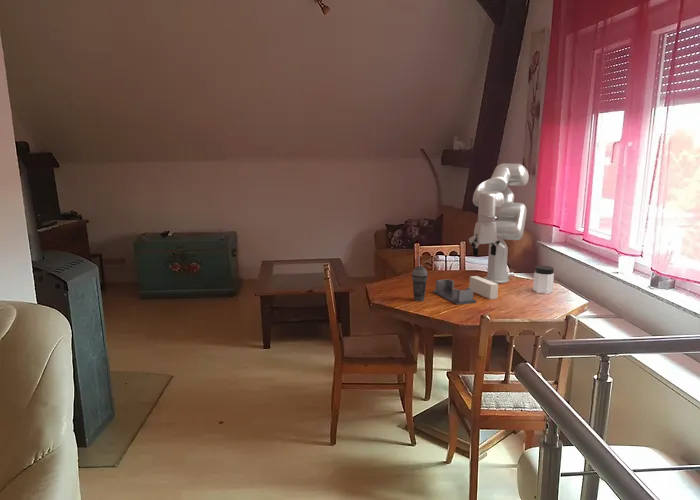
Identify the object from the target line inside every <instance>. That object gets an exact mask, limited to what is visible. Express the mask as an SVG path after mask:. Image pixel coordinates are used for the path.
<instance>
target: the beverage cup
mask: <svg viewBox="0 0 700 500" xmlns="http://www.w3.org/2000/svg"><path fill="white" fill-rule="evenodd" d="M417 258H418V261H417V262H418V265H417V266H416V267H415V268H413V270H412V272H411V280H412V288H413V289H412V290H413V300H414V301H416V302H424V301H425V296H426V289H427V288H426V287H427V280H428V271H427V269H426V268H425V267H424V266H421V264H420V256H418V257H417Z"/></svg>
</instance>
